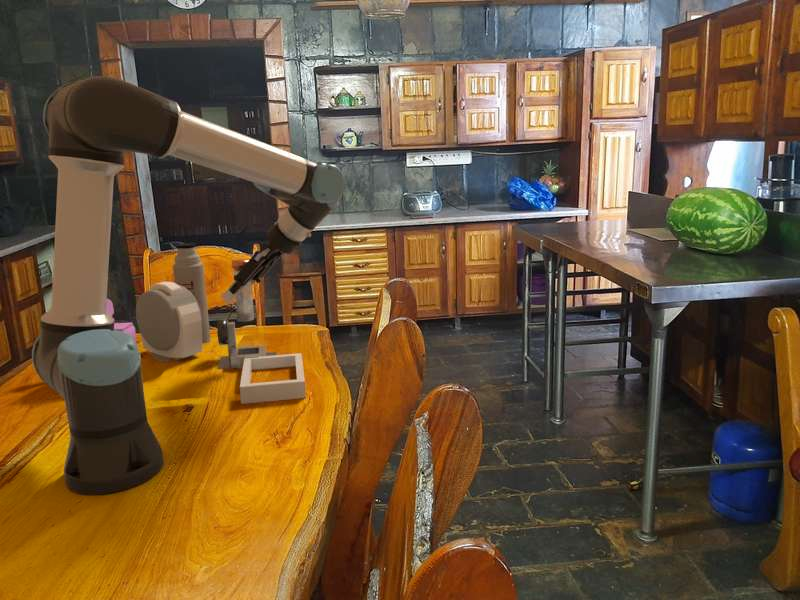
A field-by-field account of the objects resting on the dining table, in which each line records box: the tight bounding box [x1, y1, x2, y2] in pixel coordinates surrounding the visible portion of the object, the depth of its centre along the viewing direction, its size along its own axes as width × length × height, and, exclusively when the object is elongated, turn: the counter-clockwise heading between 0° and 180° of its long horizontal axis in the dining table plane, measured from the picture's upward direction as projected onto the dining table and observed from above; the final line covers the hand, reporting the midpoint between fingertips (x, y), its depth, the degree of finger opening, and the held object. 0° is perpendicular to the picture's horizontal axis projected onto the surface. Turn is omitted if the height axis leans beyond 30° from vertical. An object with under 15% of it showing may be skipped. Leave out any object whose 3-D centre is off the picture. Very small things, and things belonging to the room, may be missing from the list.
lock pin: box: [231, 258, 255, 323], centre depth 149 cm, size 5×5×15 cm
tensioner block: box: [216, 318, 277, 370], centre depth 155 cm, size 13×14×11 cm
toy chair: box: [106, 298, 137, 342], centre depth 167 cm, size 8×9×15 cm
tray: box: [239, 352, 307, 405], centre depth 142 cm, size 20×14×4 cm
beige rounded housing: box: [135, 281, 203, 363], centre depth 159 cm, size 18×8×20 cm, turn 58°
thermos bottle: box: [172, 242, 211, 345], centre depth 173 cm, size 8×8×28 cm
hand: (230, 298), depth 151 cm, fingers closed on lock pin, 4 cm apart
